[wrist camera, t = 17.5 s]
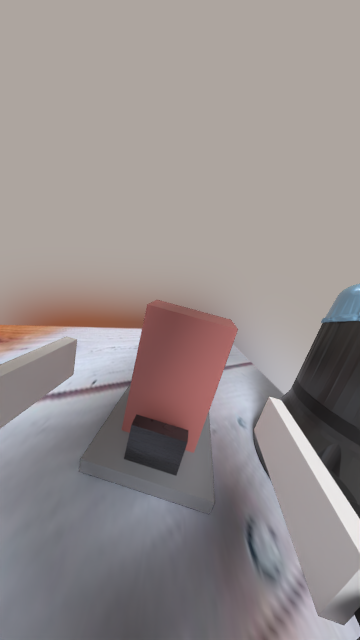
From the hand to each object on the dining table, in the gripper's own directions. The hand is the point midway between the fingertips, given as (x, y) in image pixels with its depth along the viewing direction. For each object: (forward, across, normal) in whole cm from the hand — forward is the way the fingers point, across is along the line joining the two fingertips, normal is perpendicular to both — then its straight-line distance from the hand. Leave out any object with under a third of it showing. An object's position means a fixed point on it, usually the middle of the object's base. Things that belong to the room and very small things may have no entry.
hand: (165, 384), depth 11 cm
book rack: (+6, 0, -12) cm, 13 cm away
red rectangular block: (+6, 0, -10) cm, 12 cm away
